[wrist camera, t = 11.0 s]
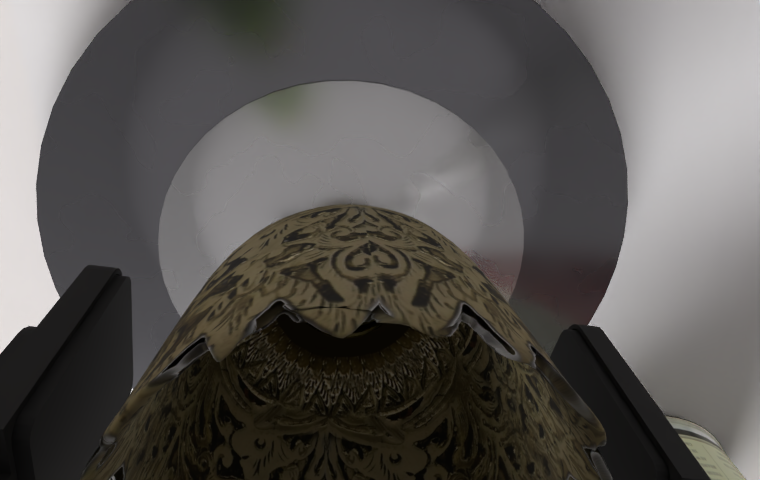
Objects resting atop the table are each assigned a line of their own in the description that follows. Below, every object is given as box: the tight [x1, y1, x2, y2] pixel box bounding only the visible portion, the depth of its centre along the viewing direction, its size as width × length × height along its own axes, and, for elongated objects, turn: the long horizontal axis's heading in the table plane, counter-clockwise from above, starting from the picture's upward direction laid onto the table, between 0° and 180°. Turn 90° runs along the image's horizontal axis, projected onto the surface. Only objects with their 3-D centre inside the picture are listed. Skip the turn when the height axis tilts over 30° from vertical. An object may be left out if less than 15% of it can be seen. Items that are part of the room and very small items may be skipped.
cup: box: [80, 204, 613, 480], centre depth 11 cm, size 8×7×8 cm
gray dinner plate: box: [36, 0, 628, 389], centre depth 15 cm, size 16×16×2 cm
